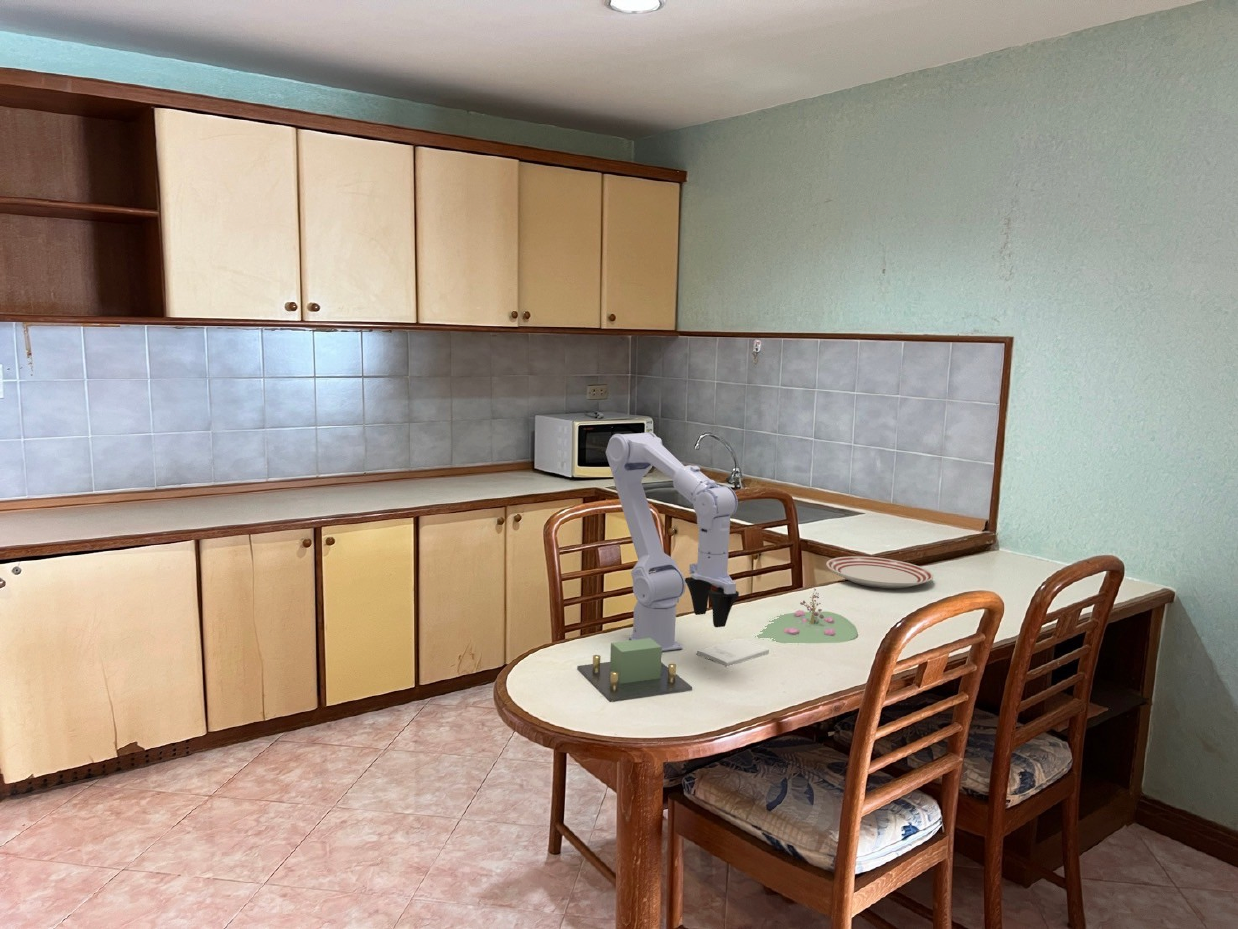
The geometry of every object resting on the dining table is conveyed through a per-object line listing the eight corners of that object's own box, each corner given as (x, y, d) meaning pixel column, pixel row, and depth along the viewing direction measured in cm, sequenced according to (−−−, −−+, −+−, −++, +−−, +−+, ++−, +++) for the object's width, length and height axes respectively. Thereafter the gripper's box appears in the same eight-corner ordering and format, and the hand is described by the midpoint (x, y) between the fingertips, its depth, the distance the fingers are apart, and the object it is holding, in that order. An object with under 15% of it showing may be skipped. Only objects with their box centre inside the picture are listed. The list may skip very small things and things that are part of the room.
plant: (806, 658, 184) (809, 615, 183) (729, 630, 200) (731, 590, 198) (876, 633, 201) (879, 594, 199) (800, 609, 216) (802, 572, 215)
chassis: (577, 668, 173) (577, 650, 172) (653, 659, 179) (654, 641, 179) (610, 701, 158) (610, 682, 158) (692, 690, 165) (693, 671, 164)
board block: (609, 673, 169) (610, 642, 169) (648, 668, 173) (650, 638, 172) (620, 683, 165) (621, 651, 164) (660, 678, 168) (661, 647, 167)
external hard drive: (768, 656, 185) (726, 669, 177) (738, 644, 191) (696, 657, 183) (769, 648, 185) (726, 661, 176) (738, 637, 191) (696, 649, 183)
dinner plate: (868, 561, 262) (869, 550, 262) (953, 584, 241) (955, 572, 241) (804, 574, 246) (804, 562, 245) (889, 601, 224) (890, 588, 224)
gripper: (676, 543, 177) (673, 610, 180) (713, 561, 164) (709, 634, 166) (708, 540, 180) (705, 607, 182) (747, 559, 167) (743, 630, 169)
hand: (709, 620), depth 175 cm, fingers open, 7 cm apart
